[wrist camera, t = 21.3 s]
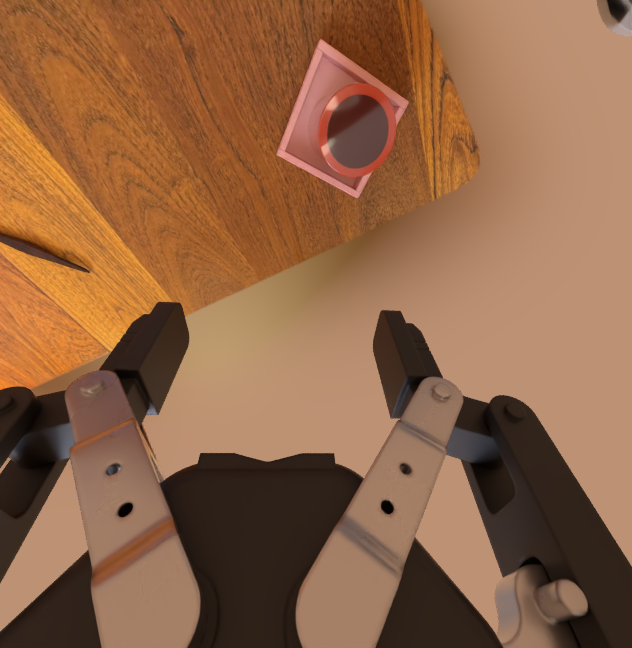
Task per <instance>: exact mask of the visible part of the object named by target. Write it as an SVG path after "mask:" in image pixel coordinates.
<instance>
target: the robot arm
mask: <svg viewBox="0 0 632 648" xmlns="http://www.w3.org/2000/svg"><path fill="white" fill-rule="evenodd" d="M629 2H630V3H631V5H632V0H629ZM188 344H189V332H188V328H187V324H186V320H185V316H184V312H183V308H182V305H181V304H180V303H176V302H158V303H157V304H156V306H155V307H154V309H153V310H152V312H151V313H150V314H144V315H142V316H141V317H140V318H138V319H137V320H135V321H134V322H133V323H132V324H131V325H130V327H129V328H128V330H127V331H126V334H124V335H123V337H122V338H121V340H120V342H118V344H117V345H116V347H115V348H114V349H113V351H112V352H111V354H110V355H109V356H108V358H107V359H106V361H105V362H104V364H103V365H102V366H101V368H100V369H99V371H94V372H90V373H87V374H85V375H83V376H81V377H79V378H78V379H76V380H75V381H74V382H72V383H71V385H69V387H68V388H67V390H65V391H60V392H55V393H51V394H46V395H41V396H37V397H36V396H35V395H34V394H33V392H32V391H31V390H30V389H28V388H26V387H10V388H6V389H2V390H0V468H1V466H2V465H3V464H4V462H5V461H6V459H7V458H8V457H9V458H10V459H11V460H10V461H9V463H8V464H7V465H6V467H5V468H4V470H3V471H2V473H1V474H0V583H1V581H2V579H3V577H4V576H5V574H6V572H7V570H8V568H9V567H10V565H11V563H12V561H13V559H14V558H15V556H16V554H17V552H18V550H19V549H20V547H21V545H22V543H23V541H24V540H25V538H26V536H27V534H28V532H29V530H30V529H31V527H32V525H33V523H34V521H35V520H36V518H37V516H38V514H39V513H40V511H41V509H42V507H43V505H44V504H45V502H46V500H47V498H48V496H49V494H50V492H51V491H52V489H53V487H54V486H55V484H56V482H57V480H58V478H59V477H60V475H61V473H62V471H63V469H64V467H65V466H66V464H67V462H68V460H69V459H70V460H71V465H72V470H73V475H74V480H75V485H76V490H77V495H78V500H79V505H80V510H81V515H82V520H83V524H84V530H85V535H86V540H87V545H88V551H87V552H86V553H84V555H82V556H81V557H80V558H79V559H78V560H77V561H76V562H75V563H74V564H73V565H72V566H70V567H69V568H68V569H67V570H66V571H65V572H64V573H63V574H62V575H61V576H60V577H59V578H58V579H56V580H55V581H54V582H53V583H52V584H51V585H50V586H49V587H48V588H47V589H46V590H45V591H43V592H42V593H41V594H40V595H39V596H38V597H37V598H36V599H35V600H34V601H33V602H32V603H31V604H30V605H28V606H27V607H26V608H25V609H24V610H23V611H22V612H21V613H20V614H19V615H18V616H17V617H16V618H15V619H13V620H12V621H11V622H10V623H9V624H8V625H7V626H6V627H5V628H4V629H3V630H2V631H0V648H632V566H631V565H630V563H629V562H628V560H627V558H626V557H625V555H624V554H623V552H622V551H621V549H620V548H619V546H618V544H617V543H616V541H615V540H614V538H613V537H612V535H611V533H610V532H609V530H608V528H607V527H606V525H605V524H604V522H603V521H602V519H601V517H600V516H599V514H598V513H597V511H596V509H595V508H594V507H593V505H592V503H591V502H590V500H589V498H588V497H587V495H586V494H585V492H584V491H583V489H582V488H581V486H580V484H579V483H578V481H577V479H576V478H575V476H574V475H573V473H572V472H571V470H570V469H569V467H568V465H567V464H566V462H565V461H564V459H563V457H562V456H561V454H560V453H559V451H558V449H557V448H556V446H555V445H554V443H553V442H552V440H551V438H550V437H549V435H548V434H547V432H546V431H545V429H544V427H543V426H542V424H541V423H540V421H539V420H538V418H537V416H536V415H535V413H534V412H533V411H532V410H531V409H530V408H529V407H528V406H527V405H526V404H524V403H523V402H521V401H520V400H518V399H516V398H513V397H510V396H504V395H499V396H496V397H494V398H493V399H492V400H491V401H490V403H486V402H482V401H478V400H475V399H471V398H468V397H465V396H463V395H462V393H461V391H460V390H459V389H458V388H457V387H456V386H455V385H454V384H453V383H451V382H450V381H448V380H446V379H443V377H442V375H441V373H440V371H439V368H438V366H437V364H436V362H435V360H434V358H433V356H432V354H431V351H429V347H428V345H427V343H426V341H425V339H424V337H423V335H422V333H421V331H420V330H419V329H418V328H417V327H416V326H415V325H414V324H411V323H406V322H405V320H404V318H403V315H402V313H401V311H388V310H382V311H381V312H380V315H379V319H378V323H377V327H376V331H375V335H374V340H373V352H374V356H375V360H376V363H377V368H378V371H379V375H380V379H381V383H382V387H383V390H384V394H385V398H386V402H387V406H388V409H389V413H390V417H391V418H401V419H400V420H398V421H397V422H396V424H395V426H394V427H393V429H392V431H391V433H390V435H389V436H388V438H387V440H386V442H385V443H384V445H383V447H382V449H381V450H380V452H379V454H378V455H377V457H376V459H375V461H374V463H373V464H372V466H371V467H370V469H369V471H368V473H367V474H366V476H365V478H363V477H361V476H360V475H359V474H357V473H356V472H354V471H352V470H351V469H349V468H347V467H344V466H342V465H339V464H335V458H334V453H332V454H331V453H322V454H321V453H312V454H311V453H303V454H298V455H294V456H290V457H286V458H282V459H279V460H274V461H270V462H265V461H261V460H257V459H253V458H250V457H246V456H242V455H239V454H235V453H201V454H200V457H199V461H198V464H195V465H192V466H190V467H187V468H184V469H182V470H180V471H178V472H176V473H174V474H173V475H171V476H169V477H168V478H167V479H166V478H165V476H164V474H163V472H162V469H161V467H160V465H159V463H158V460H157V458H156V455H155V453H154V451H153V448H152V446H151V443H150V441H149V439H148V436H147V434H146V431H145V429H144V427H143V425H142V422H143V420H144V418H145V416H146V415H159V412H160V410H161V408H162V405H163V403H164V401H165V398H166V396H167V394H168V392H169V389H170V387H171V384H172V382H173V380H174V378H175V375H176V373H177V371H178V369H179V366H180V364H181V362H182V359H183V357H184V355H185V353H186V350H187V348H188ZM446 455H449V456H452V457H455V458H459V459H461V462H462V464H463V467H464V470H465V473H466V476H467V478H468V481H469V484H470V487H471V489H472V492H473V495H474V498H475V501H476V504H477V506H478V509H479V512H480V515H481V517H482V520H483V523H484V526H485V528H486V532H487V534H488V537H489V540H490V543H491V545H492V548H493V551H494V554H495V557H496V560H497V562H498V565H499V568H500V571H501V573H502V576H503V578H502V579H501V580H500V581H499V582H498V584H497V586H496V589H495V603H496V608H497V613H498V620H499V625H498V632H497V635H496V634H495V632H494V631H493V629H492V628H491V627H490V625H489V624H488V623H487V621H486V620H485V619H484V618H483V617H482V615H481V614H480V613H479V612H478V611H477V609H476V608H475V607H474V606H473V605H472V604H471V602H470V601H469V600H468V599H467V598H466V597H465V595H464V594H463V593H462V592H461V591H460V589H459V588H458V587H457V586H456V585H455V584H454V583H453V581H452V580H451V579H450V578H449V577H448V575H447V574H446V573H445V572H444V571H443V570H442V568H441V567H440V566H439V565H438V564H437V563H436V561H435V560H434V559H433V558H432V557H431V556H430V554H429V553H428V552H427V551H426V550H425V548H424V547H423V546H422V545H421V544H420V542H419V541H418V540H417V539H416V538H415V535H416V532H417V530H418V527H419V524H420V521H421V519H422V517H423V514H424V511H425V509H426V506H427V503H428V501H429V498H430V495H431V493H432V490H433V488H434V485H435V482H436V479H437V477H438V474H439V472H440V469H441V466H442V464H443V461H444V459H445V456H446Z"/></svg>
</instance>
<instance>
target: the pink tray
mask: <svg viewBox="0 0 632 648" xmlns="http://www.w3.org/2000/svg"><path fill="white" fill-rule="evenodd" d="M356 83H365V84H370V85H372V86H375V87H377V88H378V89H380V90H381V91H382V92H383V93H384V94H385V95H386V96H387V97H388V99H389V101H390V102H391V104H392V106H393V109H394V112H395V117H396V126H397V124H398V122H399V120H400V118H401V116H402V115H403V113H404V111H405V109H406V107H407V105H408V103H409V102H408V101H407V100H406V99H404V98H403V97H401V96H400V95H399V94H397V93H396V92H394V91H393V90H392V89H390V88H389V87H387V86H386V85H385V84H383V83H382V82H381V81H379V80H378V79H376V78H375V77H374V76H372V75H371V74H369V73H368V72H367V71H365V70H364V69H362V68H361V67H360V66H358V65H357V64H355V63H354V62H353V61H351V60H350V59H348V58H347V57H346V56H344V55H343V54H341V53H340V52H339V51H337V50H336V49H335V48H333V47H332V46H330V45H329V44H328V43H326V42H325V41H323V40H322V39H320V40H319V42H318V43H317V46H316V48H315V51H314V54H313V56H312V59H311V62H310V64H309V67H308V70H307V72H306V75H305V78H304V80H303V83H302V86H301V88H300V91H299V94H298V96H297V99H296V102H295V104H294V107H293V110H292V112H291V115H290V118H289V120H288V123H287V126H286V128H285V131H284V134H283V136H282V139H281V142H280V144H279V147H278V150H277V155H278V156H280V157H282V158H283V159H285V160H287V161H289V162H291V163H293V164H295V165H296V166H298V167H300V168H302V169H304V170H306V171H307V172H309V173H311V174H313V175H315V176H317V177H319V178H320V179H322V180H324V181H326V182H328V183H330V184H332V185H333V186H335V187H337V188H339V189H341V190H343V191H344V192H346V193H348V194H350V195H352V196H354V197H356V198H358V197H359V195H360V194H361V192H362V190H363V188H364V186H365V184H366V182H367V180H368V178H369V177H370V175H371V173H372V172H371V173H369V174H367V175H365V176H361V177H347V176H344V175H341V174H339V173H337V172H336V171H334V170H333V169H332V168H331V167H330V166H329V165H328V164H326V163H325V162H324V161H323V160H322V159H321V158H319V157H318V156H317V154H316V153H315V152H314V150H313V148H312V146H311V144H310V140H309V135H308V125H309V119H310V116H311V113H312V111H313V109H314V107H315V106H316V104H317V103H318V102H319V101H320V100H321V99H322V98H323V97H325V96H327V95H329V94H331V93H333V92H335V91H337V90H339V89H341V88H344V87H346V86H348V85H351V84H356Z"/></svg>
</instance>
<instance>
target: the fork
mask: <svg viewBox="0 0 632 648" xmlns="http://www.w3.org/2000/svg"><path fill="white" fill-rule="evenodd" d="M0 242H2V243H4V244H6V245H8V246H10V247H13V248H15V249H17V250H19V251H22V252H24V253H27V254H29V255H32V256H35V257H39V258H42V259H45V260H49V261H52V262H55V263H58V264H61V265H64V266H67V267H70V268H74V269H77V270H80V271H83V272H87V273H90V271H89V270H87V269H85V268H83V267H81V266H78V265H76V264H74V263H72V262H70V261H68V260H65V259H63V258H61V257H59V256H57V255H54V254H52V253H50V252H48V251H46V250H44V249H42V248H40V247H38V246H36V245H33V244H31V243H28V242H26V241H23V240H20V239H17V238H14V237H10V236H7V235H4V234H0Z"/></svg>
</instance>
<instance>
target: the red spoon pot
mask: <svg viewBox="0 0 632 648" xmlns="http://www.w3.org/2000/svg"><path fill="white" fill-rule="evenodd" d="M308 135H309V140H310V144H311V146H312V148H313V150H314V152H315V153H316V154H317V156H318V157H319V158H321V159H322V160H323V161H324V162H325V163H326V164H328V165H329V166H330V167H331V168H332V169H333V170H334V171H336V172H337V173H339V174H341V175H344V176H347V177H361V176H365V175H367V174H369V173H371V172H373V171H375V170H376V169H377V168H378V167H380V166H381V165H382V163H383V162H384V161H385V160H386V158H387V157H388V155H389V154H390V151H391V149H392V147H393V144H394V141H395V136H396V117H395V112H394V109H393V106H392V104H391V102H390V101H389V99H388V97H387V96H386V95H385V94H384V93H383V92H382V91H381V90H380V89H378V88H377V87H375V86H372V85H370V84H365V83H356V84H351V85H348V86H346V87H344V88H341V89H339V90H337V91H335V92H333V93H331V94H329V95H327V96H325V97H323V98H322V99H321V100H320V101H319V102H318V103H317V104H316V106H315V107H314V109H313V111H312V113H311V116H310V119H309V125H308Z"/></svg>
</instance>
